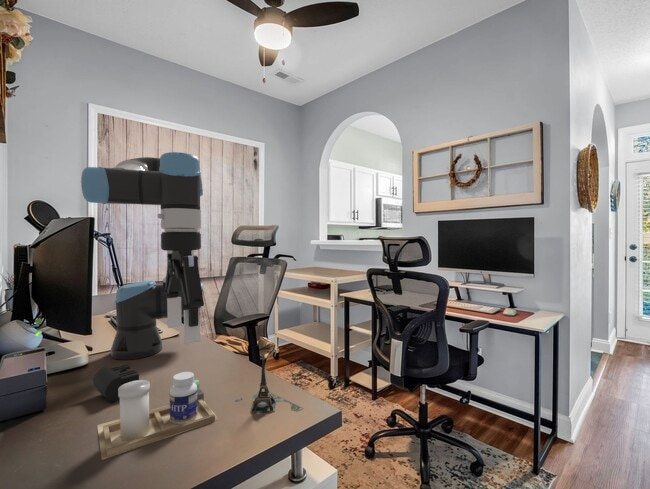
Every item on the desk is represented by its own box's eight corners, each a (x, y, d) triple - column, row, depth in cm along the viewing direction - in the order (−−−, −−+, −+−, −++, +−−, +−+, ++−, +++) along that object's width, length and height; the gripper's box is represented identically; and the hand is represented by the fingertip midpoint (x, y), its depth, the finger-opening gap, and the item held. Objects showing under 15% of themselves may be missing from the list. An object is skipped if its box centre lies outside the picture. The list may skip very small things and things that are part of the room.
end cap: (93, 396, 81) (92, 369, 81) (125, 386, 86) (125, 360, 86) (105, 410, 74) (105, 380, 74) (140, 399, 79) (139, 371, 79)
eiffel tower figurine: (304, 410, 75) (304, 351, 74) (269, 430, 67) (269, 365, 67) (262, 390, 84) (262, 338, 84) (227, 406, 77) (227, 348, 77)
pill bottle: (164, 423, 66) (163, 379, 66) (180, 410, 72) (180, 369, 71) (187, 426, 65) (187, 382, 65) (202, 412, 71) (202, 371, 70)
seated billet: (117, 432, 64) (116, 384, 63) (148, 422, 67) (147, 377, 67) (120, 445, 59) (119, 395, 59) (153, 435, 63) (152, 387, 62)
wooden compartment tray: (97, 430, 66) (96, 415, 66) (199, 400, 78) (199, 387, 78) (101, 466, 56) (101, 448, 56) (219, 425, 68) (219, 409, 68)
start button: (185, 396, 76) (185, 381, 76) (197, 393, 77) (197, 378, 77) (188, 401, 74) (188, 385, 74) (200, 397, 75) (200, 382, 75)
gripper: (149, 231, 75) (151, 324, 76) (177, 229, 55) (178, 355, 56) (184, 231, 80) (185, 319, 80) (221, 230, 60) (222, 346, 61)
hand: (182, 334), depth 68 cm, fingers open, 13 cm apart
